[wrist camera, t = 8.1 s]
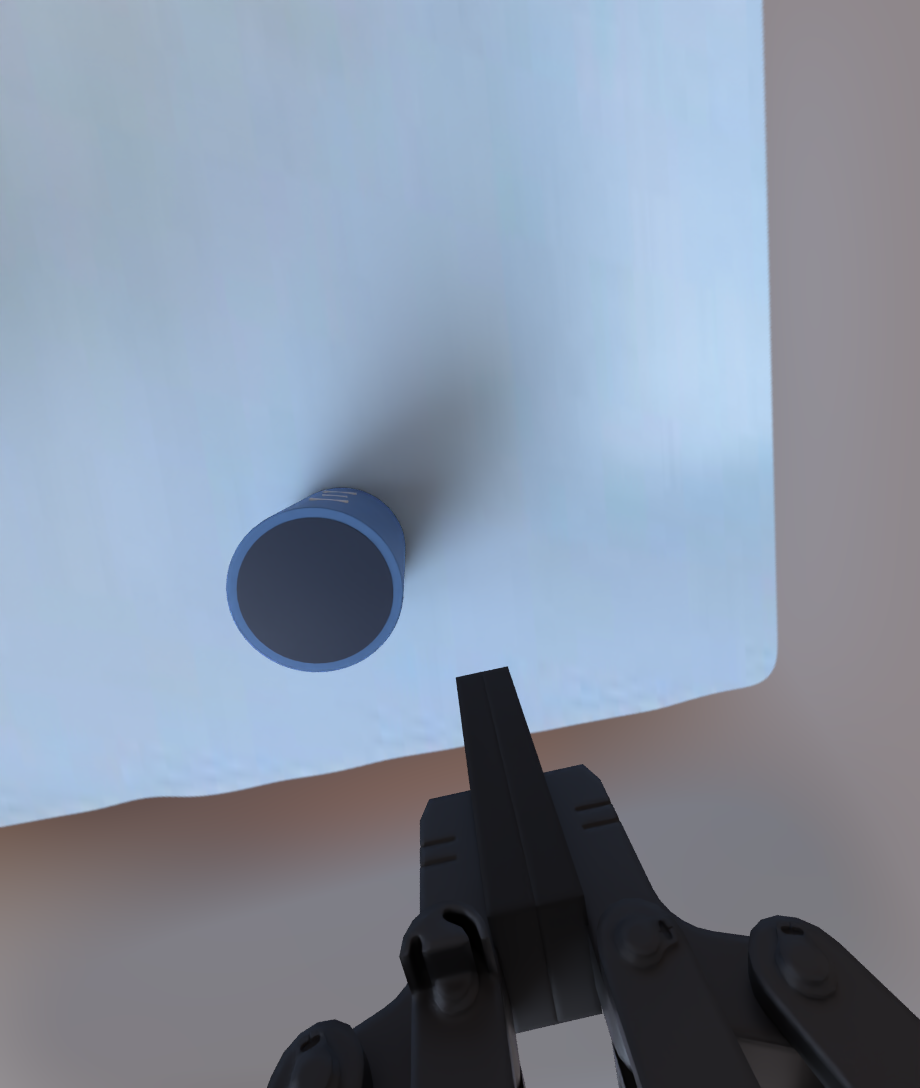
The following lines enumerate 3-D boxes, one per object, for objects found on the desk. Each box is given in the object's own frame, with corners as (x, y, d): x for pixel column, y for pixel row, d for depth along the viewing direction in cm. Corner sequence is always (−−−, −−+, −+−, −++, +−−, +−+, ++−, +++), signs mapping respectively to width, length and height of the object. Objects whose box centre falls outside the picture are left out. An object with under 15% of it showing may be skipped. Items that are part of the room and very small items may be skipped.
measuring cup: (401, 608, 34) (280, 603, 33) (409, 491, 33) (281, 482, 32) (398, 675, 24) (226, 670, 23) (408, 512, 23) (224, 500, 22)
